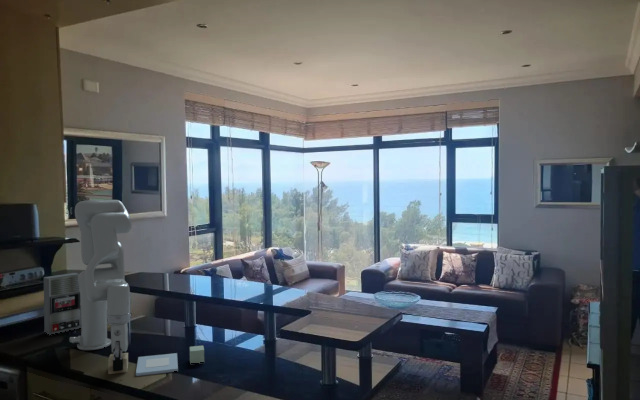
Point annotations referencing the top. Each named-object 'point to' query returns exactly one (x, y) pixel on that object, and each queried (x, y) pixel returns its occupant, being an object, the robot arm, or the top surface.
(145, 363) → the board
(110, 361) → the birch block
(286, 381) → the top surface
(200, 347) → the sage block
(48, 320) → the cassette tape recorder
